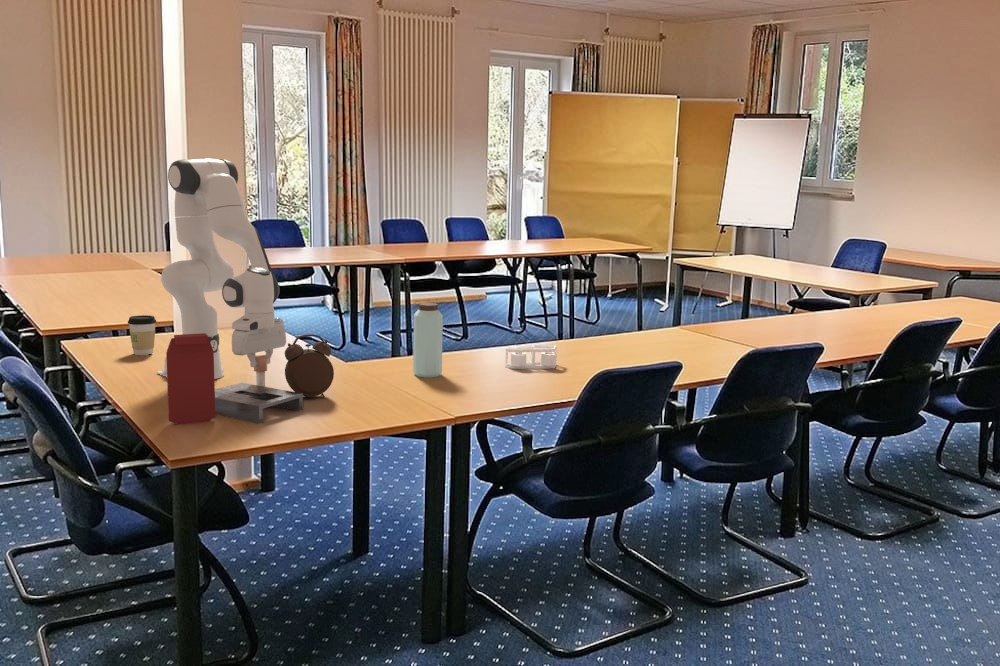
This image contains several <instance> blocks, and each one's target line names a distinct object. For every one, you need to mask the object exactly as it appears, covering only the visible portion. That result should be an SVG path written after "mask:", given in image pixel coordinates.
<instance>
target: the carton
mask: <svg viewBox="0 0 1000 666" xmlns="http://www.w3.org/2000/svg"><path fill="white" fill-rule="evenodd" d="M165 355H166V356H165V358H167V378H166V383H167V406H168V407H167V408H168V409H167V410H168V411H167V412H168V422H171V423H173V424H174V425H187V424H198V423H199V424H200V423H208V422H210V421H212V420H213V419H215V418H216V414H215V389H216V388H215V379H214V351H213V348H212V346H211V343H210V340H209V338H208V335H207V334H206V333H201V334H182V333H181V334H173V337H172V338H170V341H169V344H168V346H167V349H166V353H165Z"/></svg>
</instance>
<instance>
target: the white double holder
mask: <svg viewBox="0 0 1000 666" xmlns="http://www.w3.org/2000/svg"><path fill="white" fill-rule="evenodd" d="M509 353H510V363H509V362H508V361H509V359H508V358H509ZM527 353H530V361H527ZM536 353H540V359H539V361H536ZM557 357H558V346H557V345H554V344H553V345H552V344H526V345H525V344H524V345H520V346H519V345H518V346H515V347H514V346H511V347H509V346H508V347H505V364H504V365H505V367H504V368H506V369H512V370H513V369H514V370H525V369H527V370H528V369H529V370H530V369H531V370H536V369H537V370H538V369H539V370H540V369H541V370H542V369H543V370H547V369H556V366H557V361H558V359H557Z"/></svg>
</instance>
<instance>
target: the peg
mask: <svg viewBox="0 0 1000 666" xmlns="http://www.w3.org/2000/svg"><path fill="white" fill-rule="evenodd" d="M255 355H256V356H254V358H255V360H256V361H258V366H257V367H253V371H254V372H255V373H256V376H255V379H256V383H255V385H258V386H264V387H266V372H268V364H267V356H266V355H265V354H255Z"/></svg>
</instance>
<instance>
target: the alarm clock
mask: <svg viewBox="0 0 1000 666" xmlns="http://www.w3.org/2000/svg"><path fill="white" fill-rule="evenodd" d="M304 337H315V338H318V339H319V340H320V341H317V342H315V343H314V345H313V346H312V345H311V344H310V343H307V344H305V347H307V349H304V348H303V347H302V346H301V345H300V344H297V342H298V340H299V339H302V338H304ZM330 345H331V344H328V339H325V340H324V339H323V338H322V337H321V336H320V335H319V334H313V333H309V334H308V333H307V334H301V335H298V336H297V337H296V338H295V339H294V341H293V342H292V343H289V342H288V343H287V347H286V349H285V350H284V358H285V359H286V364H285V368H284V376H285V377H284V378H285V380H286V383H287V384H288V386H289V388H290V389H291V390H292V392H297V393H303V397H305V398H313V397H317V396H322V397H323V398H326V396H325V394H324V393H325V392H326V391H327V390H328V389H329V388H330V387H331V386H332V383H333V381H334V377H335V370H334V366H333V364H332V362H331V360H330V359H329V358H328V357H330V355H331V353H332V349H331V346H330ZM311 346H312V347H311ZM310 347H311V349H310Z"/></svg>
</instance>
